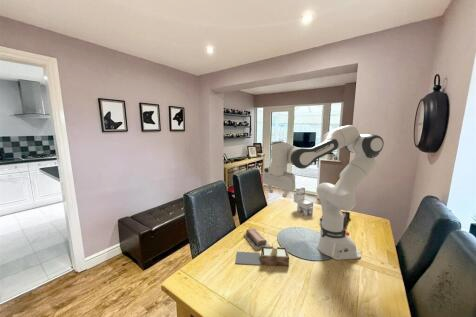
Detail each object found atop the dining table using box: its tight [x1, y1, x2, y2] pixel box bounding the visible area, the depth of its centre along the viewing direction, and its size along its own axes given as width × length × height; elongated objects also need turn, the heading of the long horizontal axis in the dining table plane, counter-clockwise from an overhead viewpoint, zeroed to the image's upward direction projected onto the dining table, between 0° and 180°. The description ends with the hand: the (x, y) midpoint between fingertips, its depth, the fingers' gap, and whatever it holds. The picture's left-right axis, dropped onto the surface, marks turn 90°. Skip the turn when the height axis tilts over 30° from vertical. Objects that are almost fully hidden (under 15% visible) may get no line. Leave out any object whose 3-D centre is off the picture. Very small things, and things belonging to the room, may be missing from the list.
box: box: [260, 245, 290, 267], centre depth 107 cm, size 14×9×5 cm, turn 85°
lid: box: [264, 242, 286, 256], centre depth 107 cm, size 12×7×5 cm, turn 85°
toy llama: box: [293, 187, 314, 217], centre depth 168 cm, size 8×18×20 cm, turn 25°
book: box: [319, 210, 351, 230], centre depth 153 cm, size 26×18×5 cm
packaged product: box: [243, 227, 271, 251], centre depth 126 cm, size 18×5×10 cm
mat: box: [235, 251, 261, 266], centre depth 109 cm, size 13×10×1 cm
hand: (277, 194), depth 109 cm, fingers open, 8 cm apart
